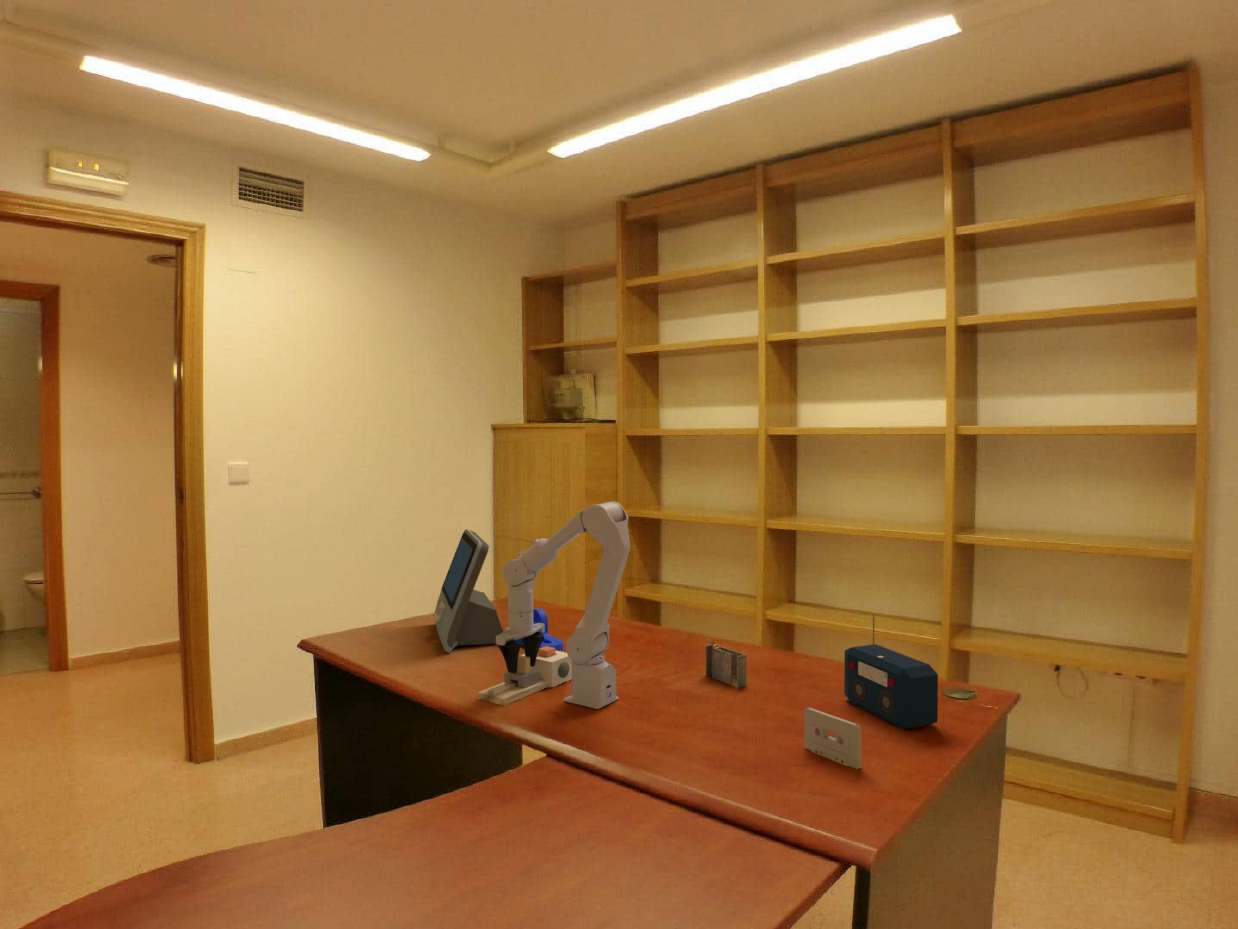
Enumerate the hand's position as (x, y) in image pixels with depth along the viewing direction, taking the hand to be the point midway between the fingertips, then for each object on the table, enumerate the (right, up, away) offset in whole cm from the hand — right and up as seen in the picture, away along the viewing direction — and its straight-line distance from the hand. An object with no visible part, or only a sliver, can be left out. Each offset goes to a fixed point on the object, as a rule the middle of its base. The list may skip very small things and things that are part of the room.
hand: (521, 669), depth 179 cm
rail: (-1, -3, -2) cm, 4 cm away
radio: (+78, -5, -17) cm, 80 cm away
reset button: (+5, +1, +7) cm, 9 cm away
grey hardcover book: (+48, -5, +6) cm, 48 cm away
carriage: (0, -3, 0) cm, 3 cm away
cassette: (+61, -6, -38) cm, 72 cm away
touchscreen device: (-22, -3, +49) cm, 54 cm away
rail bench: (-1, -5, -2) cm, 5 cm away
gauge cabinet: (+5, -5, +8) cm, 10 cm away
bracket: (0, -4, +38) cm, 38 cm away
